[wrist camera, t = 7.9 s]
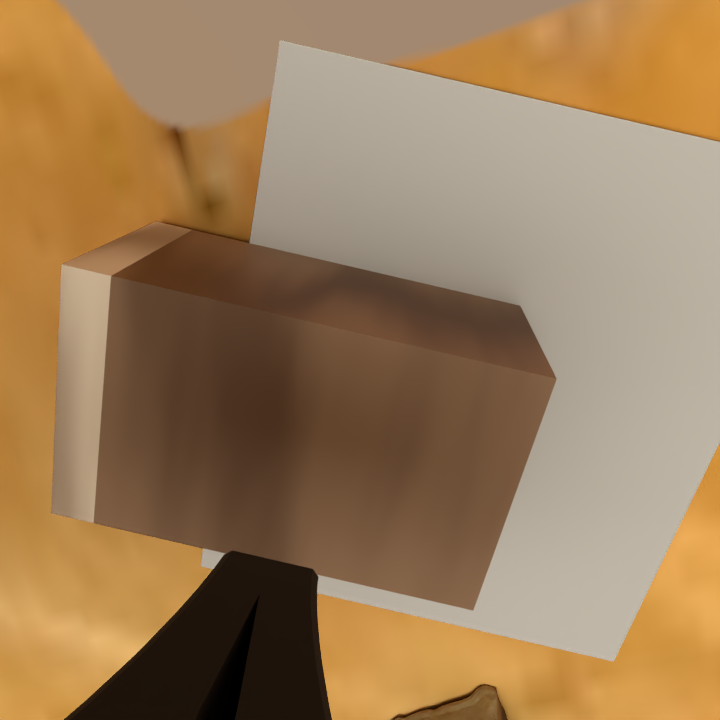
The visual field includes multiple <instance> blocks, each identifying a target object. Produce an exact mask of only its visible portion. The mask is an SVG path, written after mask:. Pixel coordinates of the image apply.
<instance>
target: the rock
mask: <svg viewBox="0 0 720 720" xmlns="http://www.w3.org/2000/svg"><path fill="white" fill-rule="evenodd" d="M395 720H507V718H506V714H505V712H504V710H503V708H502V706H501V704H500V702H499V700H498V696H497V691H496V689H495V688H494V687H491V686H489V685H482V686H480V687H479V688H477V689H476V690H475V691H474V693H473V694H472V695H471V696H469V697H468V698H465V699H463V700H460V701H456V702H452V703H449V704H446V705H443V706H441V707H439V708H437V709H435V710H431V709H427V710H423V711H420V712H417V713H414V714H412V715H409V716H407V717H405V718H401V717H399V718H396V719H395Z"/></svg>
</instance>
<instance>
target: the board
mask: <svg viewBox="0 0 720 720" xmlns="http://www.w3.org/2000/svg"><path fill="white" fill-rule="evenodd" d="M250 243H251V244H256V245H260V246H264V247H269V248H273V249H277V250H282V251H286V252H290V253H295V254H299V255H303V256H308V257H312V258H316V259H321V260H325V261H329V262H334V263H338V264H342V265H347V266H351V267H355V268H360V269H364V270H368V271H372V272H377V273H381V274H385V275H390V276H394V277H398V278H403V279H407V280H411V281H416V282H420V283H424V284H429V285H433V286H437V287H442V288H446V289H450V290H455V291H459V292H463V293H468V294H472V295H476V296H481V297H485V298H489V299H494V300H498V301H502V302H507V303H511V304H515V305H519V306H521V308H522V310H523V312H524V314H525V316H526V318H527V320H528V322H529V324H530V326H531V328H532V330H533V332H534V334H535V336H536V338H537V340H538V342H539V344H540V346H541V348H542V350H543V352H544V354H545V356H546V358H547V360H548V362H549V364H550V366H551V368H552V370H553V372H554V374H555V376H556V378H557V380H556V383H555V385H554V388H553V391H552V394H551V396H550V399H549V402H548V405H547V407H546V410H545V413H544V416H543V419H542V421H541V424H540V427H539V430H538V432H537V435H536V438H535V441H534V444H533V446H532V449H531V452H530V455H529V457H528V460H527V463H526V466H525V469H524V471H523V474H522V477H521V480H520V482H519V485H518V488H517V491H516V494H515V496H514V499H513V502H512V505H511V507H510V510H509V513H508V516H507V519H506V521H505V524H504V527H503V530H502V532H501V535H500V538H499V541H498V543H497V546H496V549H495V552H494V555H493V557H492V560H491V563H490V566H489V568H488V571H487V574H486V577H485V580H484V582H483V585H482V588H481V591H480V593H479V596H478V599H477V602H476V605H475V607H474V610H468V609H464V608H460V607H455V606H451V605H446V604H442V603H438V602H433V601H429V600H425V599H420V598H416V597H412V596H407V595H403V594H399V593H394V592H390V591H386V590H381V589H377V588H373V587H368V586H364V585H360V584H355V583H351V582H347V581H342V580H338V579H334V578H329V577H325V576H321V575H318V584H317V593H319V594H323V595H327V596H332V597H336V598H340V599H345V600H349V601H353V602H358V603H362V604H366V605H371V606H375V607H379V608H384V609H388V610H392V611H397V612H401V613H405V614H410V615H414V616H418V617H423V618H427V619H431V620H436V621H440V622H444V623H449V624H453V625H457V626H462V627H466V628H470V629H475V630H479V631H483V632H488V633H492V634H496V635H501V636H505V637H509V638H514V639H518V640H522V641H527V642H531V643H535V644H540V645H544V646H548V647H553V648H557V649H561V650H566V651H570V652H574V653H579V654H583V655H587V656H592V657H596V658H600V659H605V660H609V661H614V660H615V658H616V656H617V654H618V652H619V649H620V647H621V645H622V643H623V641H624V639H625V637H626V635H627V633H628V631H629V629H630V627H631V625H632V623H633V621H634V619H635V616H636V614H637V612H638V610H639V608H640V606H641V604H642V602H643V600H644V598H645V596H646V594H647V592H648V590H649V588H650V585H651V583H652V581H653V579H654V577H655V575H656V573H657V571H658V569H659V567H660V565H661V563H662V561H663V559H664V557H665V554H666V552H667V550H668V548H669V546H670V544H671V542H672V540H673V538H674V536H675V534H676V532H677V530H678V528H679V526H680V523H681V521H682V519H683V517H684V515H685V513H686V511H687V509H688V507H689V505H690V503H691V501H692V499H693V497H694V495H695V493H696V490H697V488H698V486H699V484H700V482H701V480H702V478H703V476H704V474H705V472H706V470H707V468H708V466H709V464H710V462H711V459H712V457H713V455H714V453H715V451H716V449H717V447H718V445H719V443H720V142H718V141H714V140H709V139H705V138H701V137H697V136H692V135H688V134H684V133H679V132H675V131H671V130H666V129H662V128H658V127H653V126H649V125H645V124H640V123H636V122H632V121H628V120H623V119H619V118H615V117H610V116H606V115H602V114H597V113H593V112H589V111H584V110H580V109H576V108H571V107H567V106H563V105H559V104H554V103H550V102H546V101H541V100H537V99H533V98H528V97H524V96H520V95H515V94H511V93H507V92H502V91H498V90H494V89H490V88H485V87H481V86H477V85H472V84H468V83H464V82H459V81H455V80H451V79H446V78H442V77H438V76H433V75H429V74H425V73H421V72H416V71H412V70H408V69H403V68H399V67H395V66H390V65H386V64H382V63H377V62H373V61H369V60H364V59H360V58H356V57H351V56H347V55H343V54H339V53H334V52H330V51H326V50H321V49H317V48H312V47H308V46H304V45H300V44H295V43H291V42H286V41H283V40H280V44H279V51H278V57H277V64H276V70H275V77H274V84H273V91H272V97H271V103H270V110H269V117H268V123H267V130H266V137H265V143H264V150H263V156H262V163H261V170H260V176H259V183H258V190H257V196H256V203H255V210H254V216H253V223H252V229H251V236H250ZM224 554H225V553H221V552H217V551H212V550H208V549H204V548H203V554H202V561H201V567H206V568H210V569H214V568H215V566H216V565H217V564H218V562H219V561H220V559H221V558H222V557H223V555H224Z"/></svg>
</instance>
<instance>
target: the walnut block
mask: <svg viewBox="0 0 720 720" xmlns="http://www.w3.org/2000/svg"><path fill="white" fill-rule="evenodd" d="M556 380H557V378H556V376H555V374H554V372H553V370H552V368H551V366H550V364H549V362H548V360H547V358H546V356H545V354H544V352H543V350H542V348H541V346H540V344H539V342H538V340H537V338H536V336H535V334H534V332H533V330H532V328H531V326H530V324H529V322H528V320H527V318H526V316H525V314H524V312H523V310H522V308H521V306H519V305H515V304H511V303H507V302H502V301H498V300H494V299H489V298H485V297H481V296H476V295H472V294H468V293H463V292H459V291H455V290H450V289H446V288H442V287H437V286H433V285H429V284H424V283H420V282H416V281H411V280H407V279H403V278H398V277H394V276H390V275H385V274H381V273H377V272H372V271H368V270H364V269H360V268H355V267H351V266H347V265H342V264H338V263H334V262H329V261H325V260H321V259H316V258H312V257H308V256H303V255H299V254H295V253H290V252H286V251H282V250H277V249H273V248H269V247H264V246H260V245H256V244H251V243H247V242H243V241H238V240H234V239H230V238H226V237H221V236H217V235H213V234H208V233H204V232H200V231H195V230H191V229H187V228H182V227H178V226H174V225H169V224H165V223H161V222H154V223H151V224H149V225H147V226H145V227H143V228H140V229H138V230H136V231H134V232H132V233H129V234H127V235H125V236H123V237H121V238H118V239H116V240H114V241H112V242H110V243H107V244H105V245H103V246H101V247H99V248H96V249H94V250H92V251H90V252H88V253H85V254H83V255H81V256H79V257H77V258H74V259H72V260H70V261H68V262H66V263H63V264H61V288H60V313H59V337H58V362H57V386H56V411H55V435H54V460H53V485H52V509H51V513H52V514H56V515H61V516H65V517H69V518H74V519H78V520H82V521H87V522H91V523H95V524H100V525H104V526H108V527H113V528H117V529H121V530H126V531H130V532H134V533H139V534H143V535H147V536H152V537H156V538H160V539H165V540H169V541H173V542H178V543H182V544H186V545H191V546H195V547H199V548H204V549H208V550H212V551H217V552H221V553H225V554H226V553H228V552H230V551H232V550H233V551H238V552H242V553H246V554H251V555H255V556H259V557H264V558H268V559H272V560H277V561H281V562H285V563H290V564H294V565H298V566H303V567H307V568H311V569H313V570H314V571H315V573H316V574H317V575H321V576H325V577H329V578H334V579H338V580H342V581H347V582H351V583H355V584H360V585H364V586H368V587H373V588H377V589H381V590H386V591H390V592H394V593H399V594H403V595H407V596H412V597H416V598H420V599H425V600H429V601H433V602H438V603H442V604H446V605H451V606H455V607H460V608H464V609H468V610H474V607H475V605H476V602H477V599H478V596H479V593H480V591H481V588H482V585H483V582H484V580H485V577H486V574H487V571H488V568H489V566H490V563H491V560H492V557H493V555H494V552H495V549H496V546H497V543H498V541H499V538H500V535H501V532H502V530H503V527H504V524H505V521H506V519H507V516H508V513H509V510H510V507H511V505H512V502H513V499H514V496H515V494H516V491H517V488H518V485H519V482H520V480H521V477H522V474H523V471H524V469H525V466H526V463H527V460H528V457H529V455H530V452H531V449H532V446H533V444H534V441H535V438H536V435H537V432H538V430H539V427H540V424H541V421H542V419H543V416H544V413H545V410H546V407H547V405H548V402H549V399H550V396H551V394H552V391H553V388H554V385H555V383H556Z"/></svg>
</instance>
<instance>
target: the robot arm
mask: <svg viewBox="0 0 720 720" xmlns="http://www.w3.org/2000/svg"><path fill="white" fill-rule="evenodd" d="M317 584H318V575H317V574H316V573H315V571H314V570H313V569H311V568H307V567H303V566H298V565H294V564H290V563H285V562H281V561H277V560H272V559H268V558H264V557H259V556H255V555H251V554H246V553H242V552H238V551H233V550H232V551H230V552H228V553H226V554H224V555H223V557H222V558H221V559H220V561H219V562H218V564H217V565H216V566H215V568H214V569H213V570H212V572H211V573H210V574H209V575H208V577H207V578H206V579H205V580H204V582H203V583H202V584H201V585H200V586H199V587H198V589H197V590H196V591H195V592H194V593H193V594H192V596H191V597H190V598H189V599H188V600H187V601H186V602H185V603H184V605H183V606H182V607H181V608H180V609H179V610H178V611H177V612H176V613H175V615H174V616H173V617H172V618H171V619H170V620H169V621H168V622H167V623H166V624H165V625H164V626H163V627H162V628H161V629H160V630H159V631H158V632H157V633H156V634H155V635H154V636H153V637H152V638H151V639H150V640H149V641H148V642H147V644H146V645H145V646H144V647H143V648H142V649H141V650H140V651H139V652H138V653H137V654H136V655H135V656H134V657H132V658H131V659H130V660H129V661H128V662H127V663H126V664H125V665H124V666H123V667H122V668H121V669H120V670H119V671H117V672H116V673H115V674H114V675H113V676H112V677H111V678H110V679H109V680H108V681H107V682H106V683H104V684H103V685H102V686H101V687H100V688H99V689H98V690H97V691H96V692H95V693H94V694H93V695H91V696H90V697H89V698H88V699H87V700H86V701H85V702H84V703H83V704H81V705H80V706H79V707H78V708H77V709H76V710H75V711H73V712H72V713H71V714H70V715H69V716H68V717H66V718H65V719H64V720H332V718H331V713H330V708H329V703H328V697H327V690H326V684H325V678H324V672H323V666H322V659H321V651H320V643H319V632H318V620H317Z"/></svg>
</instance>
